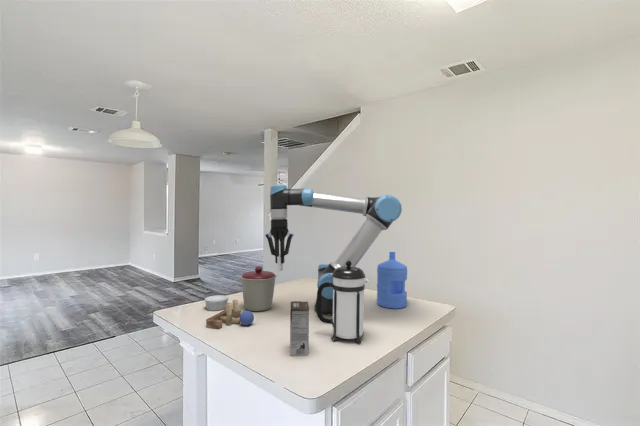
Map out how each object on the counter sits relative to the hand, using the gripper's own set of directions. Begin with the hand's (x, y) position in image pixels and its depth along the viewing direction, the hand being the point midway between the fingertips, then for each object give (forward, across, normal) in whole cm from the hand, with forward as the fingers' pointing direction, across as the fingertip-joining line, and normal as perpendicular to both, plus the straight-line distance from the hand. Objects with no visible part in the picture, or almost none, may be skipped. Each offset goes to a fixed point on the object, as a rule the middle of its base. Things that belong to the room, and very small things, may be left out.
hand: (280, 270), depth 144 cm
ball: (+19, +12, +11) cm, 24 cm away
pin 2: (+22, +19, +7) cm, 30 cm away
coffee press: (+23, -31, +14) cm, 41 cm away
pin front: (+20, +15, +10) cm, 27 cm away
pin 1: (+21, +19, +12) cm, 31 cm away
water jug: (+24, -49, -36) cm, 65 cm away
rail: (+21, +23, +10) cm, 33 cm away
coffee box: (+23, -17, +29) cm, 41 cm away
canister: (+22, +16, -12) cm, 30 cm away
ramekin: (+21, +37, -7) cm, 43 cm away
